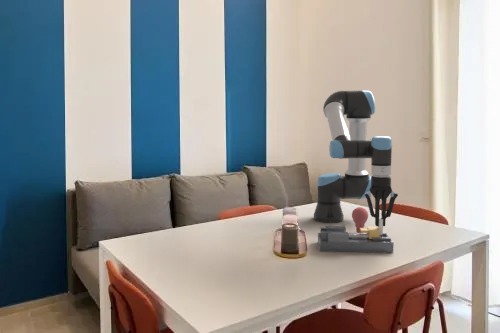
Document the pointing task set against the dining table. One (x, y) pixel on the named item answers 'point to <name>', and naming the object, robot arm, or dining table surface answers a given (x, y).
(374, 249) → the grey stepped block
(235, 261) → the dining table surface
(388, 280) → the dining table surface
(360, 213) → the light bulb
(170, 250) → the dining table surface
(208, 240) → the dining table surface
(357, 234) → the light grey flat bar
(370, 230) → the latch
